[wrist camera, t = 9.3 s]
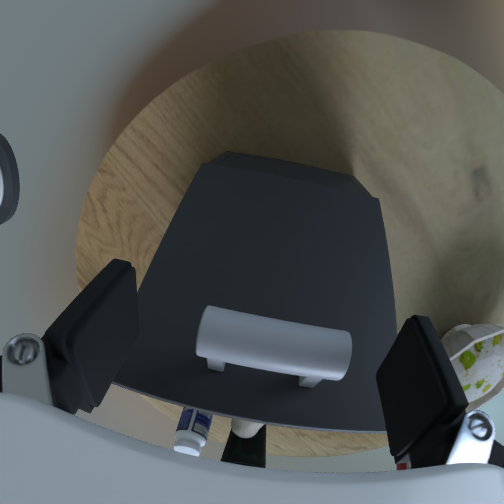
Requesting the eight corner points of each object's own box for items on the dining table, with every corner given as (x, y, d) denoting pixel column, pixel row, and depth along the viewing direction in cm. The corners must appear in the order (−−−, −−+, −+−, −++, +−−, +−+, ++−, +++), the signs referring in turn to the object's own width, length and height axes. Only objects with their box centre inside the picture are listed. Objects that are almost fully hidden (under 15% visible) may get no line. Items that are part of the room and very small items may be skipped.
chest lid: (390, 433, 11) (455, 411, 8) (108, 382, 12) (61, 340, 8) (375, 205, 22) (399, 152, 18) (202, 170, 22) (202, 112, 19)
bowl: (466, 267, 32) (502, 311, 23) (518, 318, 34) (544, 356, 26) (377, 362, 41) (388, 414, 32) (444, 391, 43) (458, 433, 34)
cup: (224, 416, 52) (211, 469, 41) (242, 399, 48) (230, 457, 37) (259, 429, 52) (251, 480, 42) (279, 413, 49) (274, 470, 38)
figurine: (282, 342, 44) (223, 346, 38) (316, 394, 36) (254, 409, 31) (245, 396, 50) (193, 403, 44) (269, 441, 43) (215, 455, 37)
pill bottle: (187, 414, 53) (173, 454, 44) (182, 398, 51) (167, 441, 42) (215, 419, 52) (204, 460, 44) (212, 403, 50) (199, 448, 41)
